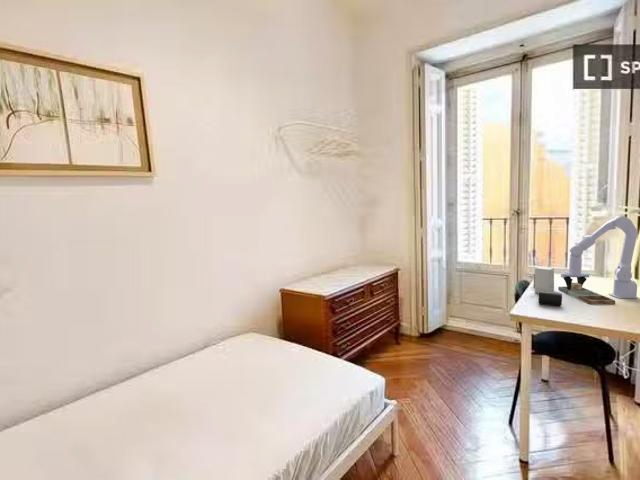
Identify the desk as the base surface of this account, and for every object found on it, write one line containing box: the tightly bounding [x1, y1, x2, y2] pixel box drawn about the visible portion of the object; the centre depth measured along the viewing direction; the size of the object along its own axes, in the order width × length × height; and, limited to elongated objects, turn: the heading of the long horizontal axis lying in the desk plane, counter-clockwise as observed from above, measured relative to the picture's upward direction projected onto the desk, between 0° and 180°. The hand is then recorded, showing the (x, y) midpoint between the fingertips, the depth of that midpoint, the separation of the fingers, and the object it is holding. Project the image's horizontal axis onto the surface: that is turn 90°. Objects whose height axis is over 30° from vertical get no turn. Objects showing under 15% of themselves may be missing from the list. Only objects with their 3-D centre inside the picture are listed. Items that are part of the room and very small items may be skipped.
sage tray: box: [567, 290, 603, 300], centre depth 201 cm, size 12×9×2 cm
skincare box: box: [534, 266, 555, 294], centre depth 209 cm, size 8×6×15 cm
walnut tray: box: [578, 295, 616, 305], centre depth 191 cm, size 12×9×2 cm
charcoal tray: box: [558, 286, 591, 295], centre depth 211 cm, size 12×9×2 cm
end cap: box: [538, 291, 563, 307], centre depth 188 cm, size 10×7×7 cm
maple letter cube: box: [567, 281, 583, 290], centre depth 211 cm, size 5×5×5 cm
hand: (574, 289), depth 211 cm, fingers closed on maple letter cube, 5 cm apart
